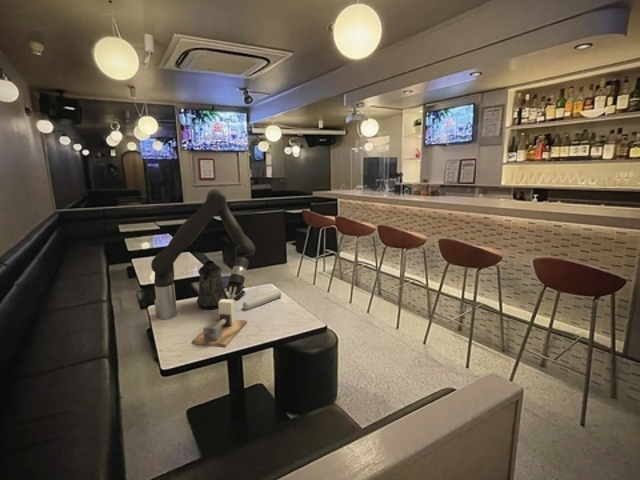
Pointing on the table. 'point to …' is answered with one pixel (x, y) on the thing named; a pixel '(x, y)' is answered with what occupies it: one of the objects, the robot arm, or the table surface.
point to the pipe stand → (219, 332)
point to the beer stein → (210, 286)
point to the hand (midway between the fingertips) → (229, 308)
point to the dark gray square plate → (227, 318)
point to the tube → (261, 299)
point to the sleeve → (227, 308)
